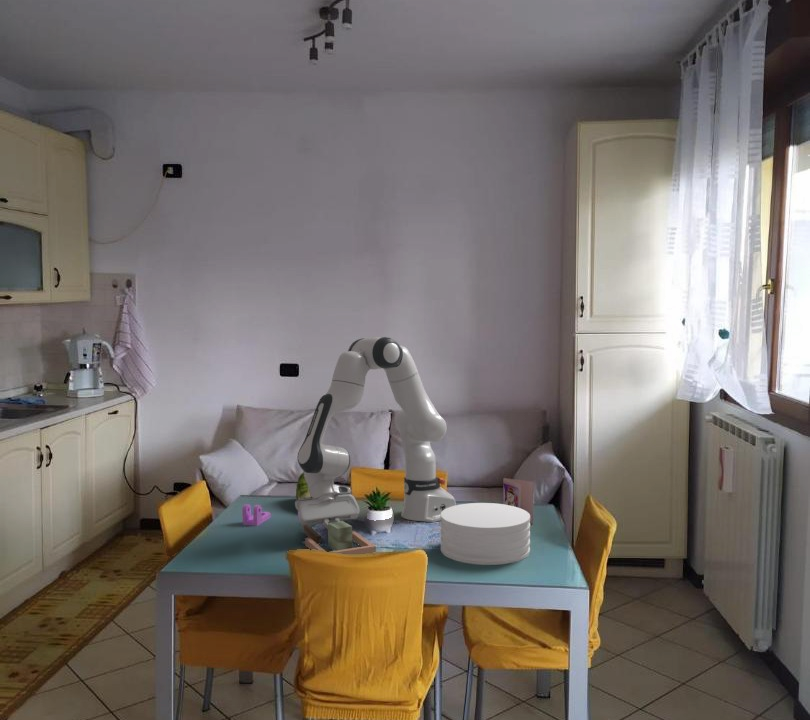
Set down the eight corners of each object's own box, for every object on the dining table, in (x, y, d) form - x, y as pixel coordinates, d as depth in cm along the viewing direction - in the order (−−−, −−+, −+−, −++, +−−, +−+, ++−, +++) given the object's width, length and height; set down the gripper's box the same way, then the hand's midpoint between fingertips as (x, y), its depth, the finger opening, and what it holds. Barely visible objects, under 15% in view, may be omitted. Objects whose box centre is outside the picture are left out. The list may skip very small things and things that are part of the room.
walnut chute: (328, 528, 272) (328, 521, 272) (343, 540, 260) (343, 532, 259) (303, 532, 268) (303, 525, 268) (317, 544, 256) (316, 536, 255)
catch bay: (354, 538, 261) (354, 531, 261) (375, 554, 246) (375, 546, 245) (305, 545, 254) (305, 538, 254) (323, 562, 238) (323, 554, 238)
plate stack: (436, 537, 262) (436, 503, 261) (519, 535, 264) (520, 501, 263) (445, 566, 234) (445, 528, 234) (539, 564, 236) (539, 526, 235)
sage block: (342, 545, 255) (342, 520, 254) (352, 551, 249) (352, 526, 248) (328, 547, 252) (327, 523, 251) (338, 553, 246) (337, 528, 245)
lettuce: (293, 524, 293) (286, 492, 289) (302, 496, 315) (296, 465, 311) (330, 519, 292) (324, 487, 288) (337, 491, 314) (331, 461, 310)
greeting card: (501, 519, 282) (501, 478, 281) (519, 517, 285) (519, 476, 284) (517, 528, 272) (518, 485, 270) (536, 525, 275) (536, 483, 273)
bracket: (257, 526, 277) (256, 506, 276) (242, 525, 278) (242, 505, 277) (273, 516, 289) (272, 497, 288) (259, 515, 291) (258, 496, 290)
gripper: (295, 494, 255) (305, 531, 247) (354, 487, 264) (366, 523, 256) (291, 504, 259) (301, 541, 251) (349, 497, 268) (360, 533, 260)
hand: (334, 532), depth 254 cm, fingers closed
